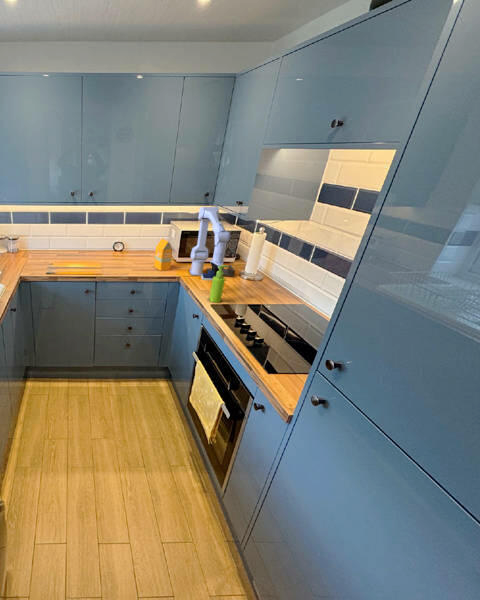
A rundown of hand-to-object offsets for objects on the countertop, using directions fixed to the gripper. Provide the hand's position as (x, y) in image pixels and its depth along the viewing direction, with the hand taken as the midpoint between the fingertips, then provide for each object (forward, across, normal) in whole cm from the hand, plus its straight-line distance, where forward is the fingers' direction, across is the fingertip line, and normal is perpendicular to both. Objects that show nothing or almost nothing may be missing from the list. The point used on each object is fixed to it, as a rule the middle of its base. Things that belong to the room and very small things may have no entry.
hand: (214, 276), depth 187 cm
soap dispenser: (+9, +14, -1) cm, 17 cm away
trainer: (+2, 0, -2) cm, 2 cm away
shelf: (+9, -29, +10) cm, 32 cm away
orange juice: (+9, -34, -27) cm, 44 cm away
